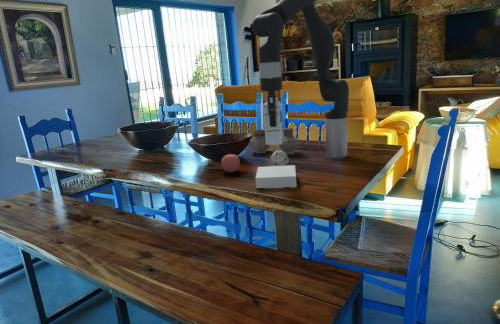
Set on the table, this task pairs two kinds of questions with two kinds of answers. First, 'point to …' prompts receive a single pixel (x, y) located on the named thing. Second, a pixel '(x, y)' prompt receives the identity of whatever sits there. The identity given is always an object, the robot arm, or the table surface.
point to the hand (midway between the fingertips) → (273, 124)
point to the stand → (276, 177)
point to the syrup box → (273, 133)
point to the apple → (230, 162)
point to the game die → (279, 158)
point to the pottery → (288, 144)
